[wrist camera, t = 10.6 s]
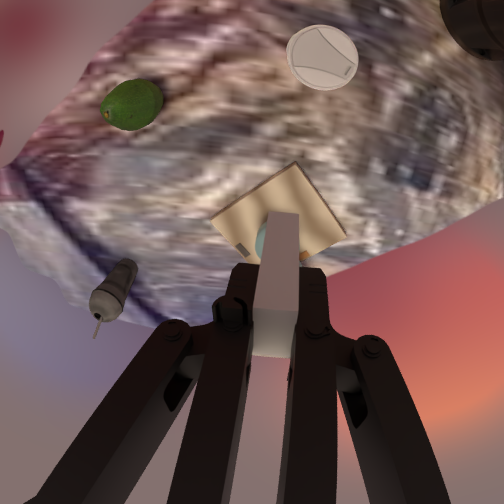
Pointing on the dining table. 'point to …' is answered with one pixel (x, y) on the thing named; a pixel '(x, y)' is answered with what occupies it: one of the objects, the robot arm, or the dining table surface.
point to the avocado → (132, 104)
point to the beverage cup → (112, 292)
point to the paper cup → (322, 57)
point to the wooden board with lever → (280, 200)
